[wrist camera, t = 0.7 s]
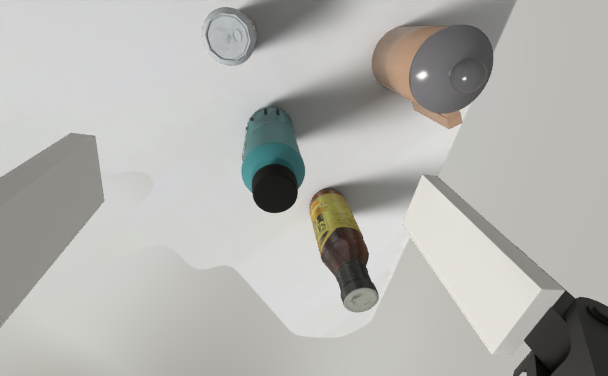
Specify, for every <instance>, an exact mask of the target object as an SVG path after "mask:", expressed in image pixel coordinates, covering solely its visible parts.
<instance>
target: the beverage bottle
mask: <svg viewBox="0 0 608 376" xmlns="http://www.w3.org/2000/svg"><path fill="white" fill-rule="evenodd" d="M284 112H285V111H284ZM284 112H283V111H281V110H280V109H278V108H273V107H267V108H264V107H263V109H261V108H260V110H259V109H258V111H257V112H255V113H254V114H253V115H252V117H251V118H250V120H249V123H247V124H248V127H247V128H246V130H247V133H246V134H247V135H246V139H245V140H246V141H245V142H246V143H244V144H245V145H244V146H245V150H244V157H243V156H242V157H243V159H242V160H243V164H242V178H243V181H244V183H245V185H246V187H247V188H248V189H249V190H250V191H251V192H252V193H253V198H254V201H255V203H256V204H257V205H258V207H259V208H261V209H262V210H264V211H266V212H270V213H279V212H283V211H286V210H287V209H289V208H290V207H291V206H292V205H293V204H294V203H295V201H296V199H297V194H298V190H297V189H298V188H299V187H300V186H301V184H302V182H303V179H304V176H305V166H304V162H303V159H302V157H301V155H300V152H299V148H298V145H297V142H296V137H295V133H294V132H295V131H294V129H293V124H292V121H291V120H290V118H289V117H290V116H288V115H287V114H285V113H284ZM243 149H244V148H243ZM242 155H243V153H242Z"/></svg>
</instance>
